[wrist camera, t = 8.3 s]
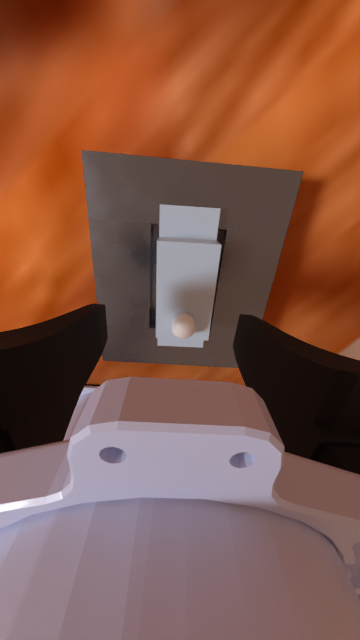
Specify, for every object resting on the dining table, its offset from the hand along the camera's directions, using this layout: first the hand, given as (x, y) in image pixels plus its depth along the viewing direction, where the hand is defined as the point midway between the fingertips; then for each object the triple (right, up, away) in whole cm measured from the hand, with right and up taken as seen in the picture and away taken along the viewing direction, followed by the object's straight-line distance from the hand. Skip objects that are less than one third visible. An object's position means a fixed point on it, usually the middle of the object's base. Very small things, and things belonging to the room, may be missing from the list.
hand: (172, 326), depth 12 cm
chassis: (+1, +5, +8) cm, 9 cm away
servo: (+1, +4, +8) cm, 9 cm away
